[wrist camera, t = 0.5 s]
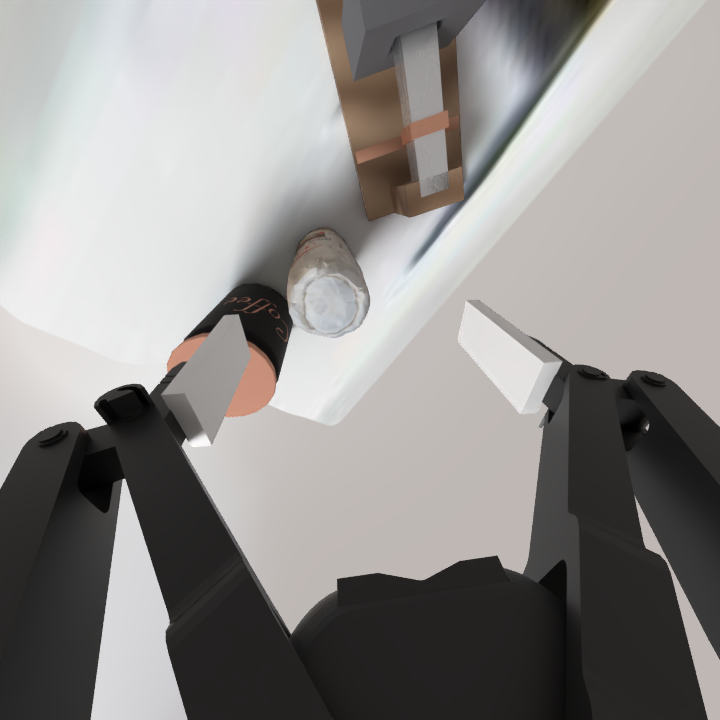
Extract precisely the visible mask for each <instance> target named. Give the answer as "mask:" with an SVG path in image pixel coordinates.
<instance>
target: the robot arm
mask: <svg viewBox="0 0 720 720" xmlns="http://www.w3.org/2000/svg"><path fill="white" fill-rule="evenodd" d="M457 341H458V342H459V343H460V344H461V346H462V347H463V348H464V349H465V350H466V351H467V353H468V354H469V355H470V356H471V357H472V358H473V360H474V361H475V362H476V363H477V364H478V365H479V366H480V368H481V369H482V370H483V371H484V372H485V374H486V375H487V376H488V377H489V378H490V379H491V380H492V382H493V383H494V384H495V385H496V386H497V387H498V389H499V390H500V391H501V392H502V393H503V394H504V396H505V397H506V398H507V399H508V400H509V401H510V403H511V404H512V405H513V406H514V407H515V408H516V410H517V411H518V412H519V413H520V414H529V413H537V412H538V410H539V408H540V406H541V404H542V402H543V403H544V404H545V405H546V406H547V407H548V410H547V412H546V414H545V416H544V418H543V420H542V422H541V424H540V425H539V427H540V428H542V427H543V425H544V428H543V438H542V446H541V455H540V463H539V472H538V481H537V491H536V499H535V507H534V516H533V525H532V534H531V542H530V551H529V558H528V562H527V565H526V568H525V570H524V573H523V575H522V574H520V573H517V572H515V571H512V570H509V569H504V568H503V567H502V565H501V562H500V560H499V558H498V556H492V557H485V558H478V559H471V560H465V561H459V562H457V563H455V564H453V565H452V566H450V567H448V568H446V569H444V570H442V571H441V572H439V573H437V574H435V575H433V576H431V577H429V578H428V579H426V580H421V581H420V580H414V579H408V578H403V577H397V576H392V575H386V574H381V573H375V574H368V575H361V576H354V577H347V578H340V579H337V591H335V592H333V593H331V594H329V595H328V596H327V597H325V598H324V599H322V600H321V601H319V602H318V603H317V604H316V605H315V606H314V607H313V608H312V609H311V610H310V611H309V612H308V613H307V614H306V615H305V616H304V618H303V619H302V620H301V621H300V623H299V624H298V626H297V627H296V629H295V630H294V631H293V633H292V635H291V633H290V632H289V630H288V628H287V627H286V625H285V623H284V621H283V620H282V618H281V616H280V615H279V613H278V611H277V610H276V608H275V607H274V605H273V603H272V602H271V600H270V598H269V597H268V595H267V593H266V591H265V590H264V588H263V586H262V585H261V583H260V581H259V579H258V578H257V576H256V574H255V572H254V571H253V569H252V567H251V566H250V564H249V562H248V560H247V559H246V557H245V555H244V554H243V552H242V550H241V548H240V547H239V545H238V543H237V541H236V540H235V538H234V536H233V535H232V533H231V531H230V529H229V528H228V526H227V524H226V523H225V521H224V519H223V517H222V516H221V514H220V512H219V511H218V509H217V507H216V505H215V504H214V502H213V500H212V498H211V497H210V495H209V493H208V491H207V490H206V488H205V486H204V485H203V483H202V481H201V479H200V478H199V476H198V474H197V473H196V471H195V469H194V467H193V466H192V464H191V462H190V460H189V459H188V457H187V455H186V454H185V452H184V450H183V449H182V447H181V446H182V444H183V442H184V440H185V438H187V440H188V442H189V443H190V445H191V447H200V446H209V445H212V444H213V441H214V439H215V437H216V434H217V432H218V430H219V428H220V426H221V423H222V421H223V419H224V416H225V414H226V412H227V410H228V407H229V405H230V403H231V401H232V398H233V396H234V394H235V392H236V389H237V387H238V385H239V383H240V380H241V378H242V376H243V374H244V371H245V369H246V367H247V364H248V362H249V360H250V358H251V354H250V351H249V348H248V344H247V341H246V338H245V334H244V331H243V328H242V324H241V321H240V318H239V314H238V315H224V316H223V317H222V319H221V320H220V321H219V323H218V324H217V325H216V326H215V328H214V329H213V330H212V331H211V333H210V334H209V335H208V336H207V338H206V339H205V340H204V341H203V343H202V344H201V345H200V346H199V348H198V349H197V350H196V351H195V353H194V354H193V355H192V356H191V358H190V359H189V360H188V361H185V362H181V363H179V364H178V365H176V366H175V367H173V368H172V369H171V370H170V371H169V372H168V373H167V375H166V376H165V378H163V379H162V381H161V382H160V384H158V385H157V386H156V388H155V389H154V390H153V391H152V392H151V394H150V395H149V394H148V392H147V391H146V390H145V388H144V387H143V386H142V385H141V384H129V385H124V386H121V387H118V388H115V389H113V390H111V391H109V392H107V393H105V394H104V395H102V396H101V397H99V398H98V400H97V401H96V402H95V404H94V408H95V409H96V411H97V412H98V413H99V414H100V415H101V417H102V418H103V419H104V420H105V422H106V423H107V425H104V426H100V427H97V428H93V429H89V430H85V429H84V428H83V427H82V426H81V425H80V424H79V423H77V422H66V423H61V424H58V425H55V426H53V427H49V428H47V429H45V430H44V431H41V432H39V433H38V434H37V435H35V436H34V437H33V438H31V439H30V440H29V441H28V442H27V443H26V444H25V446H24V447H23V448H22V450H21V452H20V454H19V456H18V458H17V459H16V461H15V463H14V465H13V467H12V469H11V470H10V473H9V474H8V476H7V478H6V480H5V482H4V483H3V485H2V487H1V489H0V720H91V719H90V718H91V711H92V704H93V697H94V689H95V681H96V674H97V667H98V659H99V652H100V644H101V637H102V629H103V621H104V614H105V606H106V599H107V591H108V584H109V577H110V568H111V562H112V554H113V546H114V539H115V531H116V524H117V516H118V508H119V501H120V494H121V486H122V479H126V482H127V485H128V488H129V491H130V495H131V498H132V501H133V504H134V507H135V510H136V513H137V517H138V520H139V523H140V526H141V529H142V532H143V536H144V539H145V542H146V545H147V548H148V551H149V554H150V557H151V560H152V564H153V567H154V570H155V573H156V577H157V580H158V583H159V586H160V589H161V592H162V595H163V599H164V602H165V605H166V608H167V611H168V614H169V619H170V625H169V626H168V628H167V630H166V644H167V649H168V653H169V656H170V660H171V664H172V667H173V670H174V674H175V677H176V681H177V684H178V687H179V691H180V695H181V698H182V701H183V705H184V708H185V712H186V715H187V718H188V720H708V719H707V715H706V711H705V707H704V703H703V699H702V695H701V691H700V687H699V683H698V679H697V675H696V671H695V667H694V663H693V660H692V656H691V651H690V648H689V644H688V640H687V636H686V632H685V628H684V624H683V620H682V616H681V612H680V608H679V605H678V600H677V596H676V592H675V588H674V584H673V580H672V577H671V573H670V570H669V568H668V565H667V563H666V562H665V560H664V559H663V558H662V557H661V556H660V555H658V554H656V553H654V552H652V551H650V550H648V549H646V548H645V545H644V542H643V537H642V532H641V527H640V523H639V517H638V512H637V508H636V502H635V497H636V499H637V501H638V503H639V505H640V507H641V509H642V511H643V512H644V514H645V516H646V518H647V520H648V522H649V524H650V526H651V528H652V530H653V532H654V534H655V536H656V538H657V540H658V542H659V544H660V546H661V547H662V550H663V552H664V553H665V555H666V557H667V559H668V561H669V563H670V565H671V567H672V569H673V571H674V573H675V575H676V577H677V579H678V581H679V583H680V585H681V587H682V588H683V590H684V593H685V594H686V596H687V598H688V600H689V602H690V604H691V606H692V608H693V610H694V612H695V614H696V616H697V618H698V620H699V622H700V624H701V626H702V627H703V630H704V632H705V633H706V635H707V637H708V639H709V641H710V643H711V645H712V647H713V648H714V650H715V652H716V654H717V655H718V657H719V659H720V427H719V426H718V425H717V424H716V423H715V422H714V421H713V420H712V419H711V418H710V417H709V416H708V415H707V414H706V413H705V412H704V411H703V410H702V409H701V408H700V407H699V406H698V405H697V404H696V403H695V402H694V401H693V400H692V399H691V398H690V397H689V396H688V395H687V394H686V393H685V392H684V391H683V390H682V389H681V388H680V387H679V386H678V385H677V384H675V383H674V382H673V381H671V380H670V379H668V378H666V377H664V376H663V375H661V374H657V373H654V372H648V371H640V370H637V371H632V373H631V374H630V375H629V377H628V378H627V380H617V379H610V377H609V376H608V375H607V374H606V373H605V372H603V371H601V370H599V369H597V368H594V367H591V366H587V365H572V364H571V363H570V362H568V361H567V360H565V359H564V358H563V357H561V356H560V355H558V354H557V353H556V352H554V351H552V350H551V349H550V348H549V347H546V346H545V345H544V344H543V343H542V342H540V341H539V340H537V339H534V338H532V337H530V336H528V335H526V334H524V333H523V332H522V331H520V330H519V329H518V328H516V327H515V326H514V325H512V324H511V323H510V322H508V321H507V320H505V319H504V318H503V317H501V316H500V315H499V314H497V313H496V312H494V311H493V310H492V309H490V308H489V307H488V306H486V305H485V304H484V303H482V302H481V301H480V300H466V304H465V308H464V313H463V318H462V322H461V327H460V331H459V336H458V340H457ZM648 424H649V429H648V431H647V430H646V428H645V427H646V426H647V425H648ZM634 495H635V497H634Z"/></svg>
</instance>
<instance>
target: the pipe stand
mask: <svg viewBox="0 0 720 720" xmlns="http://www.w3.org/2000/svg"><path fill="white" fill-rule="evenodd" d="M316 3H317V7H318V11H319V16H320V20H321V24H322V28H323V32H324V37H325V41H326V45H327V49H328V53H329V58H330V62H331V66H332V70H333V74H334V79H335V83H336V87H337V91H338V95H339V100H340V104H341V108H342V112H343V116H344V121H345V125H346V129H347V133H348V137H349V142H350V146H351V150H352V154H353V158H354V163H355V167H356V171H357V175H358V180H359V184H360V188H361V192H362V196H363V201H364V205H365V209H366V213H367V217H368V220H369V221H372V220H375V219H378V218H380V217H383V216H386V215H389V214H392V213H397V214H400V215H403V216H407V217H413V216H416V215H419V214H422V213H425V212H428V211H431V210H434V209H437V208H440V207H443V206H446V205H449V204H452V203H455V202H458V201H461V200H464V189H463V169H462V153H461V133H460V113H459V93H458V73H457V54H456V37H455V38H454V39H453V41H452V42H451V43H450V44H449V46H447V47H445V48H442V49H439V60H440V73H441V86H442V100H443V112H444V111H446V110H448V119H449V127H448V128H446V129H445V139H446V152H447V166H448V172H447V174H448V176H447V175H446V176H447V178H448V179H449V181H448V179H447V181H446V183H447V184H446V183H445V182H444V184H445V186H446V185H447V187H448V189H447V188H443V190H441V191H440V189H439V188H440V186H441V185H442V184H441V185H440V186H439V188H437V189H436V191H437V192H436V191H435V193H433V194H432V193H431V194H430V193H429V192H428V190H427V192H428V193H429V194H430V195H427V196H425V195H423V194H422V195H423V196H425V197H421V190H420V182H419V181H415V182H411V175H410V168H409V161H408V154H407V147H406V145H402V138H401V131H402V130H403V129H404V126H403V119H402V112H401V105H400V98H399V91H398V84H397V77H396V70H395V66H394V67H391V68H389V69H386V70H383V71H381V72H378V73H375V74H373V75H370V76H367V77H365V78H362V79H359V80H357V81H354V82H353V77H352V73H351V68H350V63H349V58H348V53H347V49H346V44H345V39H344V34H343V30H342V25H341V21H342V9H343V0H316ZM442 174H443V173H442ZM445 174H446V172H445ZM440 175H441V174H440ZM443 175H444V174H443ZM435 176H436V175H435ZM435 176H434V177H435ZM437 176H438V175H437ZM437 176H436V177H437ZM441 176H442V175H441ZM444 176H445V175H444ZM432 177H433V176H432ZM436 177H435V180H436ZM441 178H442V177H441ZM443 178H444V177H443ZM445 178H446V177H445ZM445 178H444V180H443V179H441V181H445ZM432 179H433V180H434V178H432ZM438 179H439V181H440V178H439V177H438ZM428 180H429V179H428ZM433 180H432V181H433ZM435 180H434V181H435ZM426 181H427V180H426ZM429 181H430V180H429ZM432 181H431V182H432ZM424 182H425V181H424ZM427 182H428V181H427ZM448 182H449V184H448ZM433 183H434V182H433ZM435 183H436V182H435ZM435 183H434V184H435ZM438 183H439V182H438ZM438 183H437V184H438ZM441 183H442V182H441ZM423 184H424V183H423ZM428 184H429V182H428ZM439 184H440V183H439ZM431 185H432V183H431ZM431 185H430V187H431ZM426 186H427V184H426ZM432 186H433V185H432ZM437 186H438V185H437ZM427 187H429V186H427ZM443 187H444V185H443ZM431 188H432V187H431ZM431 188H430V189H431ZM434 188H435V186H433V188H432V189H433V191H434V190H435V189H434ZM441 189H442V188H441ZM444 189H445V190H444ZM422 190H423V189H422ZM438 190H439V192H438ZM433 191H432V192H433ZM425 192H426V191H425ZM425 194H427V193H425Z"/></svg>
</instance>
